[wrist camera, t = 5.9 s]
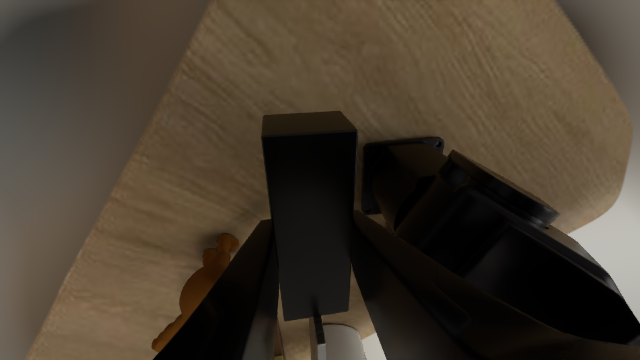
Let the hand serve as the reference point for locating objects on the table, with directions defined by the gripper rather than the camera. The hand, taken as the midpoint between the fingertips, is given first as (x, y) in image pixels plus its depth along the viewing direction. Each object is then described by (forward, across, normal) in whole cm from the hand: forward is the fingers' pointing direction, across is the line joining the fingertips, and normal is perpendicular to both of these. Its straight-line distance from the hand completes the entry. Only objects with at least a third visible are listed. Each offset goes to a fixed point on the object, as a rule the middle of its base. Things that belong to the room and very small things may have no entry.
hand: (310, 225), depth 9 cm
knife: (+1, 0, +3) cm, 4 cm away
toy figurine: (+12, +7, +11) cm, 18 cm away
